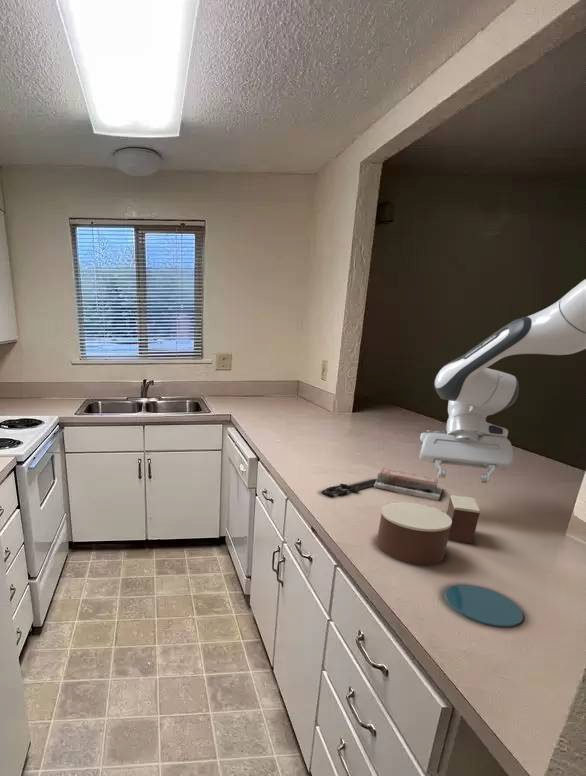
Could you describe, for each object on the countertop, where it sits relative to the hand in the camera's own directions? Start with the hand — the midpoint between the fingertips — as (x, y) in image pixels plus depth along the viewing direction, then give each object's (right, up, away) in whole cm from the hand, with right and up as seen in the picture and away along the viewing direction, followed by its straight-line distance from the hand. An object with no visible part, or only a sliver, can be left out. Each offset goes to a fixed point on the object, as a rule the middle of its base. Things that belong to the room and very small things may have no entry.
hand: (462, 479), depth 110 cm
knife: (-17, -3, +26) cm, 31 cm away
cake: (-18, -16, -9) cm, 26 cm away
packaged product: (-1, -3, +25) cm, 25 cm away
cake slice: (-4, -14, -3) cm, 15 cm away
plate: (-15, -24, -29) cm, 40 cm away
